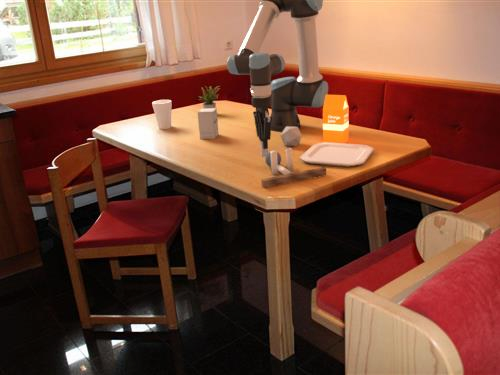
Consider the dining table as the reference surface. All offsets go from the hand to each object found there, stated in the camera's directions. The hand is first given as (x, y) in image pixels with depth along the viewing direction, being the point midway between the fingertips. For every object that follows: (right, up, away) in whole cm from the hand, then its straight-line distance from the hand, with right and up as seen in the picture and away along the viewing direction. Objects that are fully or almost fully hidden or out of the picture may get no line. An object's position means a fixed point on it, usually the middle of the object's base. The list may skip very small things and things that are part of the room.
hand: (264, 155), depth 204 cm
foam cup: (-49, +18, +60) cm, 79 cm away
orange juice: (+31, +7, +19) cm, 37 cm away
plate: (+28, -1, 0) cm, 28 cm away
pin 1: (+3, -7, -14) cm, 16 cm away
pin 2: (+9, -6, -12) cm, 16 cm away
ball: (+3, -2, -8) cm, 9 cm away
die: (+12, +6, +18) cm, 22 cm away
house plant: (-26, +27, +79) cm, 87 cm away
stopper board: (+10, -10, -22) cm, 26 cm away
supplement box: (-24, +11, +38) cm, 47 cm away
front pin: (+5, -5, -12) cm, 14 cm away
